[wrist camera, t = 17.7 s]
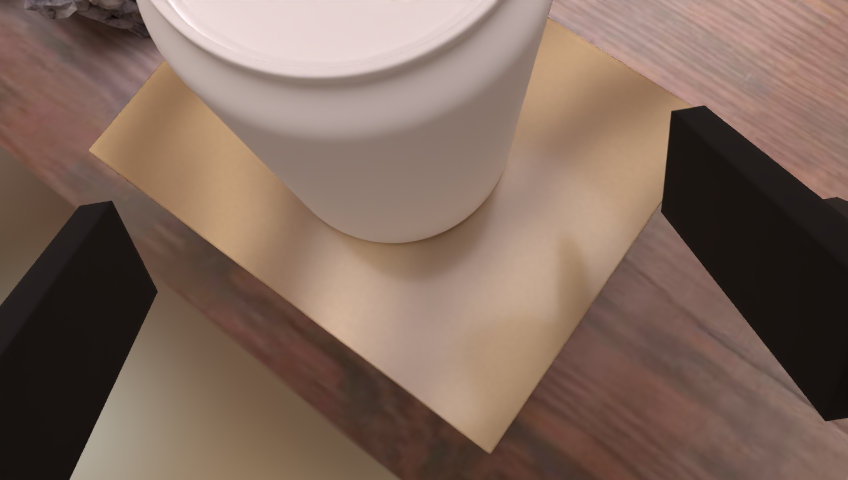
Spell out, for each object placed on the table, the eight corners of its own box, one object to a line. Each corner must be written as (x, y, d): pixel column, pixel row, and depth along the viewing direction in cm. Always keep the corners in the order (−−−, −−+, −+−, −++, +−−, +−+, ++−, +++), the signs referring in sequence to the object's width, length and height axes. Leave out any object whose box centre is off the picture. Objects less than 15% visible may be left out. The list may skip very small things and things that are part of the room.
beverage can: (361, -3, 23) (262, -391, 11) (550, 97, 22) (670, -211, 10) (241, 175, 21) (-13, -41, 10) (434, 290, 20) (412, 203, 9)
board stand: (635, 191, 30) (717, 120, 21) (477, 421, 29) (490, 455, 19) (356, 9, 33) (318, -126, 24) (195, 210, 31) (87, 150, 22)
